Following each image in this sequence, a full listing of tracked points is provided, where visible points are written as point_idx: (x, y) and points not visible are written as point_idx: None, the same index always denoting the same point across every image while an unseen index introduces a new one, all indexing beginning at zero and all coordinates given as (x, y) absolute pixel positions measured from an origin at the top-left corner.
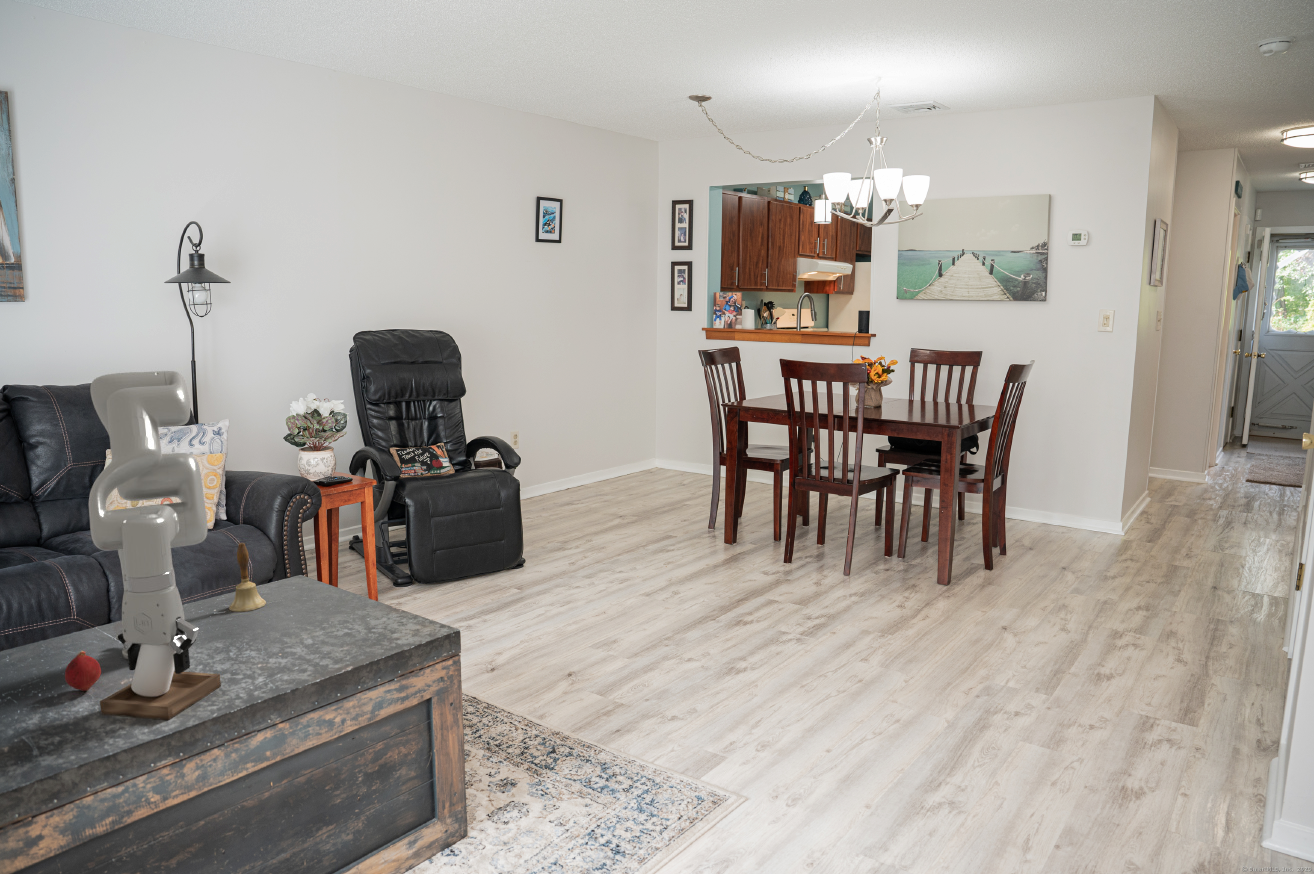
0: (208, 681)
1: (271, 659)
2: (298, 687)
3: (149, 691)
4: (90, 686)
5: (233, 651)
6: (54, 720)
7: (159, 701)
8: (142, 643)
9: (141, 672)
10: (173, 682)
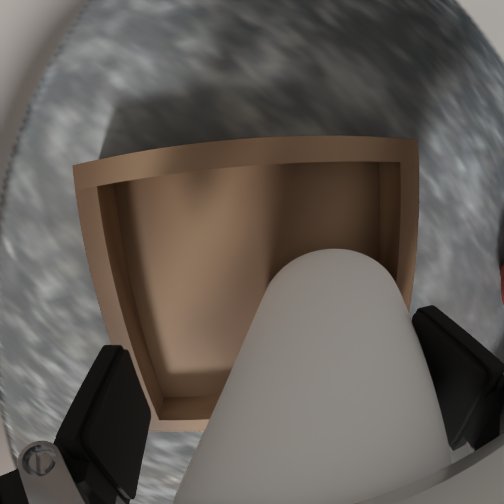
0: None
1: None
2: (3, 401)
3: (288, 269)
4: (501, 272)
5: None
6: (468, 94)
7: (238, 260)
8: (413, 489)
9: (346, 300)
10: None
